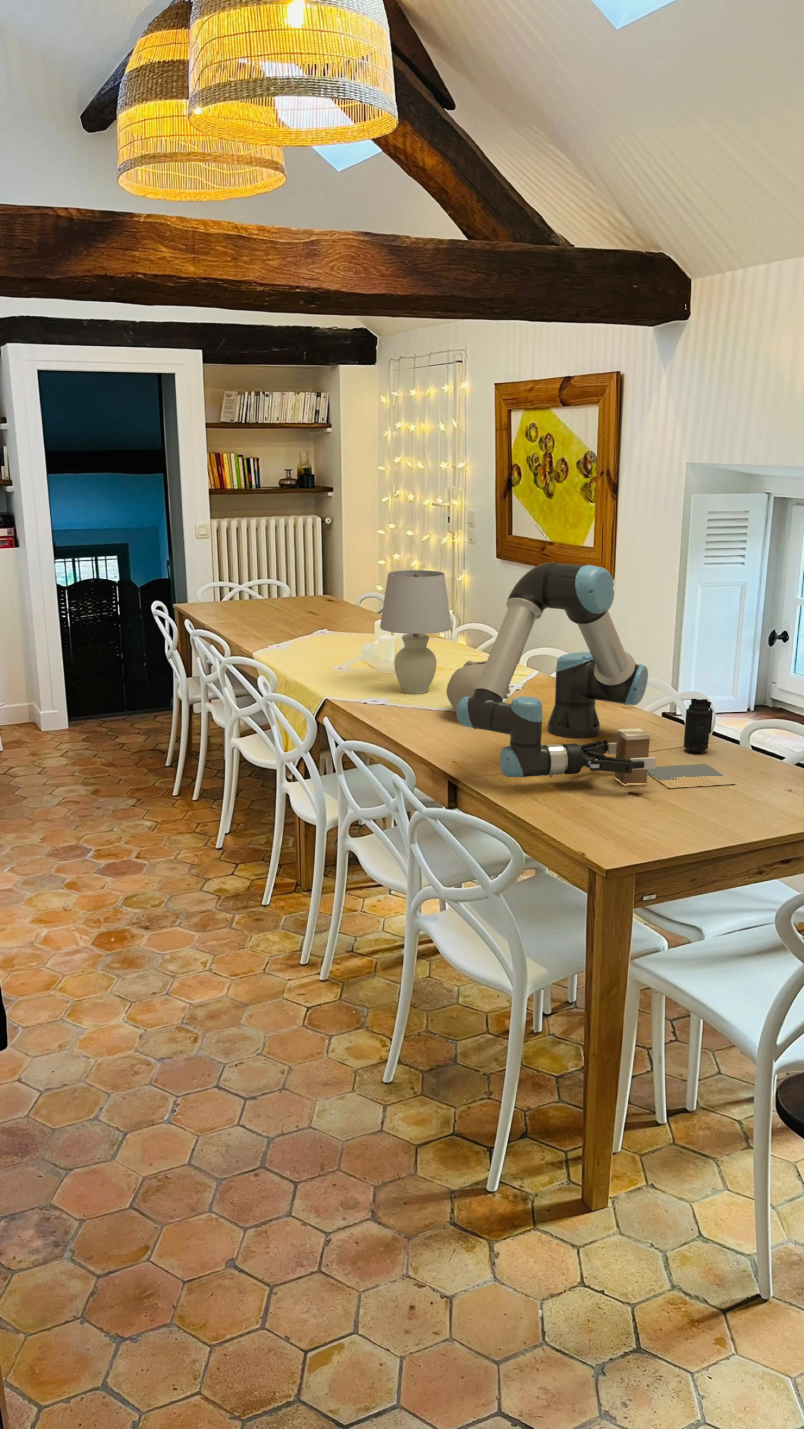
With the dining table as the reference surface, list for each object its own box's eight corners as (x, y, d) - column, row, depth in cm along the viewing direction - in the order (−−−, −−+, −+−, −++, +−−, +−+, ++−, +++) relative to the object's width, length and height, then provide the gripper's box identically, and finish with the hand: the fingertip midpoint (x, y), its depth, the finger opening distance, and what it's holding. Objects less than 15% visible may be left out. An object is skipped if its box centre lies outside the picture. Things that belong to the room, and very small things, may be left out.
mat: (641, 769, 277) (641, 767, 277) (705, 766, 281) (705, 763, 280) (668, 789, 262) (668, 786, 262) (735, 784, 265) (735, 782, 265)
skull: (511, 640, 330) (447, 639, 332) (511, 684, 310) (444, 684, 312) (510, 694, 342) (449, 693, 344) (510, 741, 322) (445, 740, 324)
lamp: (371, 685, 369) (371, 570, 359) (436, 681, 376) (438, 568, 366) (391, 701, 347) (392, 579, 337) (460, 697, 354) (463, 576, 344)
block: (614, 779, 269) (617, 729, 266) (636, 777, 271) (639, 728, 267) (623, 786, 264) (627, 736, 260) (646, 785, 265) (650, 734, 262)
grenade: (690, 755, 290) (695, 702, 286) (678, 749, 296) (682, 696, 292) (714, 753, 292) (718, 700, 288) (701, 747, 298) (705, 695, 294)
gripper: (545, 759, 275) (622, 755, 279) (580, 789, 251) (664, 784, 255) (546, 731, 273) (624, 727, 277) (581, 759, 249) (666, 754, 253)
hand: (643, 754), depth 266 cm, fingers open, 13 cm apart
